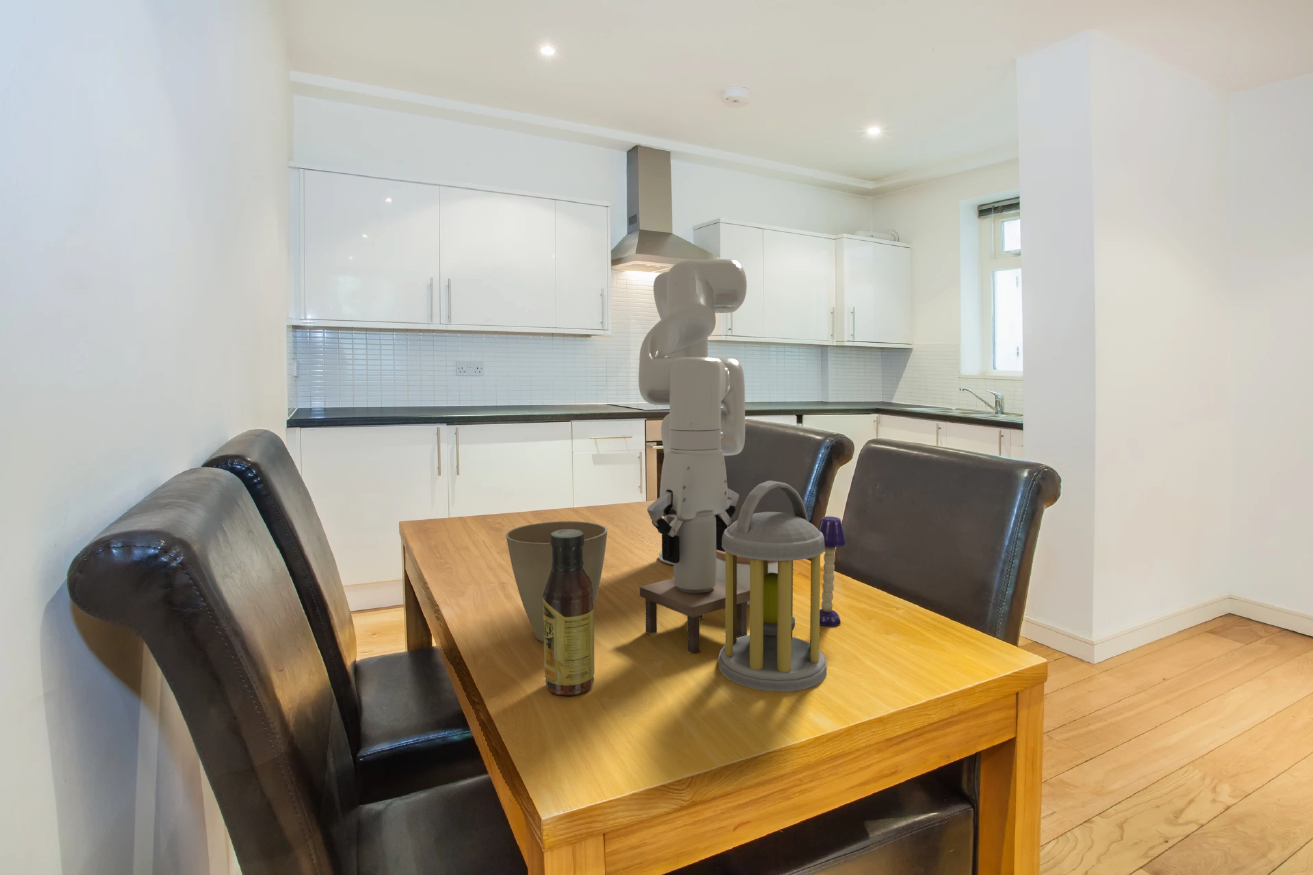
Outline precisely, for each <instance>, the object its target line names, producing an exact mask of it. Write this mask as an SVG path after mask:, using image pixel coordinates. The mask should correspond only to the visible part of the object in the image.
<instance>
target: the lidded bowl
mask: <svg viewBox="0 0 1313 875" xmlns="http://www.w3.org/2000/svg"><path fill="white" fill-rule="evenodd" d="M768 573H777V574H778V561H771V560H768ZM716 578H718V579H722V580H725V581H726V551H725V552H723V551H719V550H716ZM737 585H740V586H743V587H746V588H749V589H750V558H744V557H740V556H737ZM747 606H750V600H749V601H747Z"/></svg>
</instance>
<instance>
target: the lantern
mask: <svg viewBox="0 0 1313 875" xmlns="http://www.w3.org/2000/svg"><path fill="white" fill-rule="evenodd" d="M775 488H779V489H780V490H781V491H782V492H784V493H785V495H786V496H787V498H788V500H789V501H790V503H791V508H792V510H793V514H794V515H793V514H791V513H787V512H779V511H778V512H776V511H763V512H755V510H756V509H757V507H758V504H760V501H761V499H762V498H763V497H765V495H766V494H767V493H768V492H769V491H771V490H773V489H775ZM754 512H755V513H754ZM722 548H723V549H724V550H725V551H726V608H725V644H724V645H723V646H722V648H721V649H720V651H719V654H718V668H719V670H720V672H721V675H723V676H725V678H727V679H728V680H729V681H731V682H734V683H735V684H738V685H740V686H742V687H744V688H745V687H746V688H750V689H754V690H758V691H766V692H776V693H780V692H782V693H783V692H798V691H801V690H805V689H810V688H813V687H814V686H817V685H818V684H820V683H822V682H823V681H824V679H826V677H827V675H828V674H827V671H828V670H827V668H828V667H827V666H828V665H827V657H826V656H825V655H824V653H822V651H821V650H820V625H819V620H820V609H821V608H820V607H821V606H820V604H821V602H820V601H821V596H820V595H821V555H822V554H823V553H825V543H824V536H823V534H822V532H820V531H819V530H818V527H816V526H815V525H814V524H813V523H811V522H809V519H808V513H807V511H806V507H805V504H804V500H803V498H801V496H800V494H799V492H798V491H797V490H796V489H795V488H794V487H792V486H791V485H790V484H788V483H785V482H781V481H775V480H766V481H765V482H761V483H759V484H758V485H756V486H755V487H754V488H753V489H752V490H751V491H750V492H749V494H748V495H747V496H746V499H745V500H744V502H743V504H742V505H741V508H740V511H739V515H738V519H737V520H735V521H734V522H731V523H730V525H728V528H727V529H725V531H724V533H723V536H722ZM737 556H740V557H744V558H750V605H749V634H747V635H746V636H742V637H740V636H738V635H737ZM806 559H807V560H808V559H810V614H809V616H810V617H809V618H810V620H809V621H810V622H809V623H810V624H809V627H810V630H809V634H810V635H809V642H808V641H807V640H803V639H800V638H798V637H795V636H793V631H794V629H795V626H796V618H795V617H794V615H793V614H794V613H793V612H794V611H793V610H794V609H793V607H794V606H793V605H794V602H793V601H794V598H793V597H794V596H793V594H794V586H793V585H794V561H800V560H806ZM768 560H771V561H778V574H777V573H768Z"/></svg>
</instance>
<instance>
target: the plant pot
mask: <svg viewBox="0 0 1313 875" xmlns="http://www.w3.org/2000/svg"><path fill="white" fill-rule="evenodd" d="M563 529H575V530H580V531H582V532H583V534H584V545H583V550H582V551H583V562H584V564H583V569H584V571H585V573H586V574H587V576H589V578H590V580H591V582H592V589H593V595H592V597H593V605H594V606H595V603H596V600H597V596H598V592H599V588H600V583H601V579H602V578H601V577H602V572H603V569H604V563H605V562H604V561H605V554H606V549H607V548H606V547H607V538H608V527H606V526H605V525H603V524H600V523H597V522H596V523H595V522H590V521H589V522H587V521H580V520H578V521H577V520H576V521H575V520H560V521H559V520H558V521H549V522H548V521H546V522H538V523H531V524H525V525H522V526H518V527H516V528H512V529H511V530H509V531H508V532H506V535H505V536H506V543H507V547H508V552H509V553H508V554H509V557H510V558H509V559H510V564H511V568H512V572H513V575H514V576H513V577H514V579H515V580H514V581H515V584H516V586H517V590H518V593H519V597H520V600H521V602H522V606H523V609H524V612H525V613H526V617H527V619H528V621H529V624H530V626H531V629H532V630H533V631H532V632H533V634H534V635H535V637H536V638H535V639H536V640H538V641H540V642H542V643H544V631H543V593H544V590H545V587H546V585H547V582H548V579H549V576H550V572H551V569H552V546H551V544H550V540H551V533H552V532H555V531H557V530H563Z"/></svg>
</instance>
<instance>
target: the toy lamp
mask: <svg viewBox="0 0 1313 875" xmlns="http://www.w3.org/2000/svg"><path fill="white" fill-rule="evenodd" d="M817 529H818V530H819V531H820V532H822V534H823V536H824V543H825V552H824V554H823V562H824V564H823V574H822V580H823V583H822V586H821V588H822V592H821V603H820V604H821V606H820V607H821V608H820V620H819V626H823V627H836V626H839V625H841V616H840V615H839V614H838V612H837V611H835V610H833V599H834V593H833V591H834V587H835V585H834V581H835V569H836V568H835V567H836V566H835V561H836V556H835V553H836V549H837V548H842V547H844V546H846V537H845V531H844V527H843V523H842V520H841V518H839V517H836V516H831V515H830V516H822V517H821V519H820V521H819V525H818V527H817Z"/></svg>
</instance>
